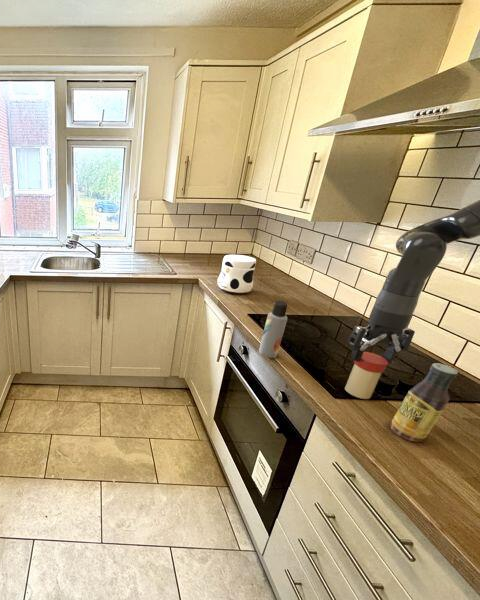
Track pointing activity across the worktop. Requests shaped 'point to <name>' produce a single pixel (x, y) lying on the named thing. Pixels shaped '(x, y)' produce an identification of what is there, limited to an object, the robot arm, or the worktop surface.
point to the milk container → (237, 274)
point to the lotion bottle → (274, 330)
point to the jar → (361, 382)
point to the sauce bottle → (424, 404)
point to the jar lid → (372, 362)
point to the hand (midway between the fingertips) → (370, 360)
